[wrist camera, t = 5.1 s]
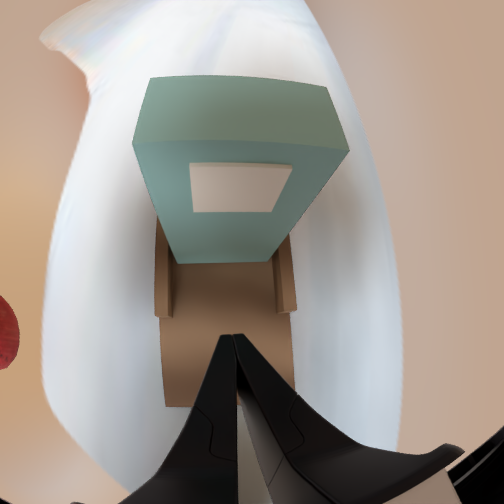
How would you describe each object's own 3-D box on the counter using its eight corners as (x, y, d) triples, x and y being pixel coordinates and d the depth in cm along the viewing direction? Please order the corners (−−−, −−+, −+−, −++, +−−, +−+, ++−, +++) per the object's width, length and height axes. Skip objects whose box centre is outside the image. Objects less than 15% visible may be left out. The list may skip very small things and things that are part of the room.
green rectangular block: (267, 263, 18) (350, 154, 7) (177, 266, 17) (131, 147, 6) (263, 220, 19) (326, 87, 8) (178, 221, 18) (150, 78, 7)
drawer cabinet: (291, 395, 17) (352, 433, 9) (167, 403, 16) (135, 454, 7) (275, 210, 21) (313, 135, 13) (164, 211, 20) (140, 131, 11)
